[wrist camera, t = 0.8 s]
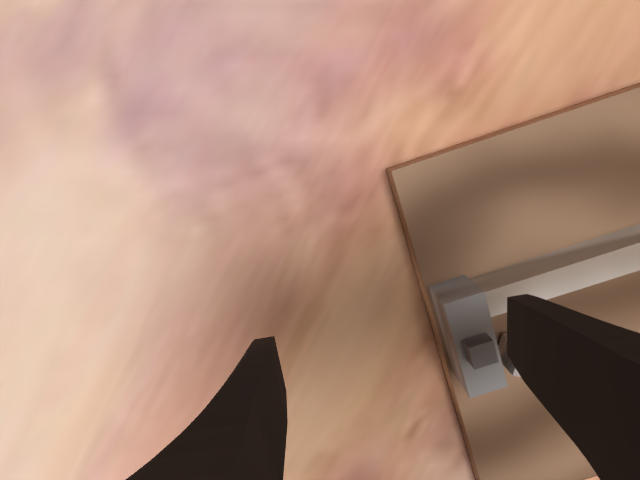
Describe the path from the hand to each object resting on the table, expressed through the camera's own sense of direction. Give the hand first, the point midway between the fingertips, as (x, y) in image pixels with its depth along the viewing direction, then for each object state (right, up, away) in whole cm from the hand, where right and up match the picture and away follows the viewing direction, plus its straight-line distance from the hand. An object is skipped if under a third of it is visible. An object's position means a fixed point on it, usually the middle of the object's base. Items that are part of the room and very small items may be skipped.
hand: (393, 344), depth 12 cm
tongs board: (+13, 0, +11) cm, 18 cm away
